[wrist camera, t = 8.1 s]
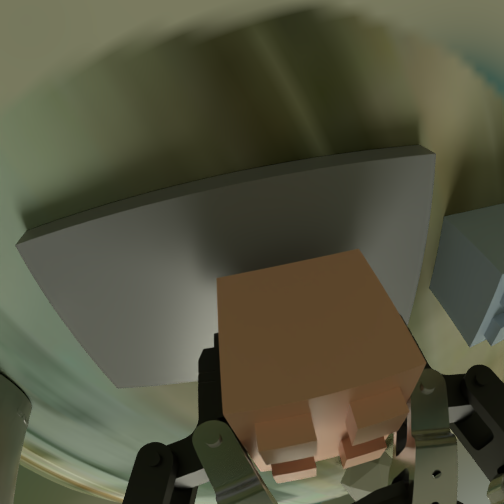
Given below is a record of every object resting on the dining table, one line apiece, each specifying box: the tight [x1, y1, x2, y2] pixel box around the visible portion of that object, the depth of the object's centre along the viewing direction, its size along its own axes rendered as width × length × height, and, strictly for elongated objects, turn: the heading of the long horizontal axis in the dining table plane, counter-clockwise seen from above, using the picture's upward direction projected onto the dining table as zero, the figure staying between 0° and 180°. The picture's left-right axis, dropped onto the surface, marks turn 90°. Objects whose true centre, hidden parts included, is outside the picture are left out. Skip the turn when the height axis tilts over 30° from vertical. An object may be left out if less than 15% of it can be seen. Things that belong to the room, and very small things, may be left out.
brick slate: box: [429, 203, 504, 347], centre depth 13 cm, size 6×5×6 cm
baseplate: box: [15, 145, 436, 388], centre depth 14 cm, size 18×11×1 cm, turn 100°
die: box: [341, 451, 392, 501], centre depth 34 cm, size 8×9×10 cm
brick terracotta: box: [216, 249, 426, 483], centre depth 10 cm, size 6×5×6 cm
